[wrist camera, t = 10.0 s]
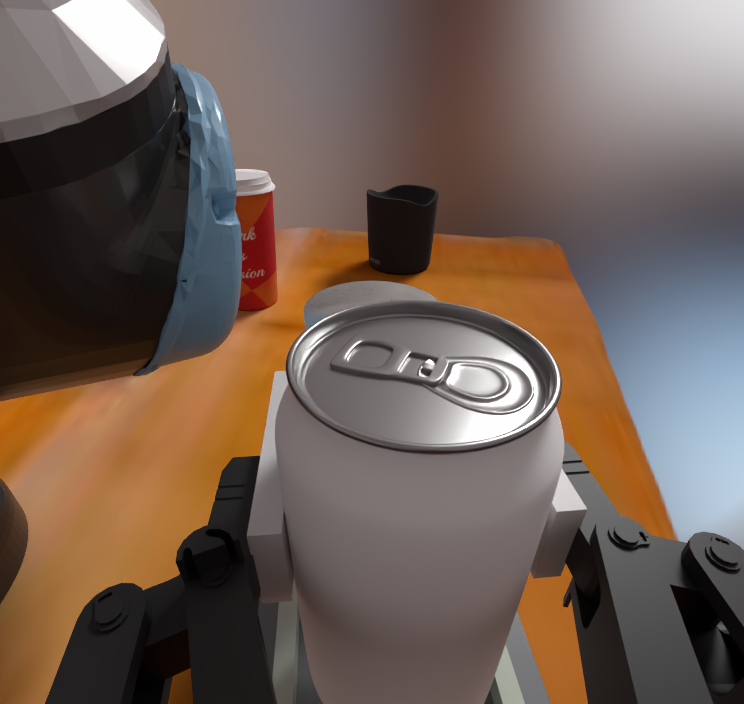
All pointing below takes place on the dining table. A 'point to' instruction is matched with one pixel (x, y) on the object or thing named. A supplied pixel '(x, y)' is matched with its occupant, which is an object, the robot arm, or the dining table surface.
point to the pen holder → (401, 228)
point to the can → (414, 494)
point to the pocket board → (299, 696)
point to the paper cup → (256, 239)
